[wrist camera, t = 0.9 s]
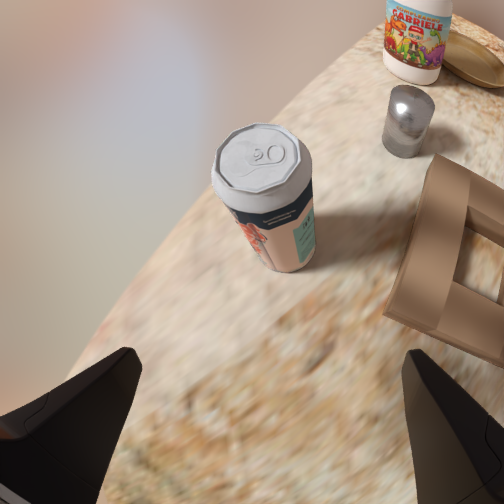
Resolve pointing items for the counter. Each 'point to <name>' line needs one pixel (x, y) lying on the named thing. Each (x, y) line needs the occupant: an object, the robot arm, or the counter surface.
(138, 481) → the counter surface
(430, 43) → the milk bottle
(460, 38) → the plant saucer
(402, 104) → the short steel pin
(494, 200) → the walnut collar
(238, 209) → the beer can
